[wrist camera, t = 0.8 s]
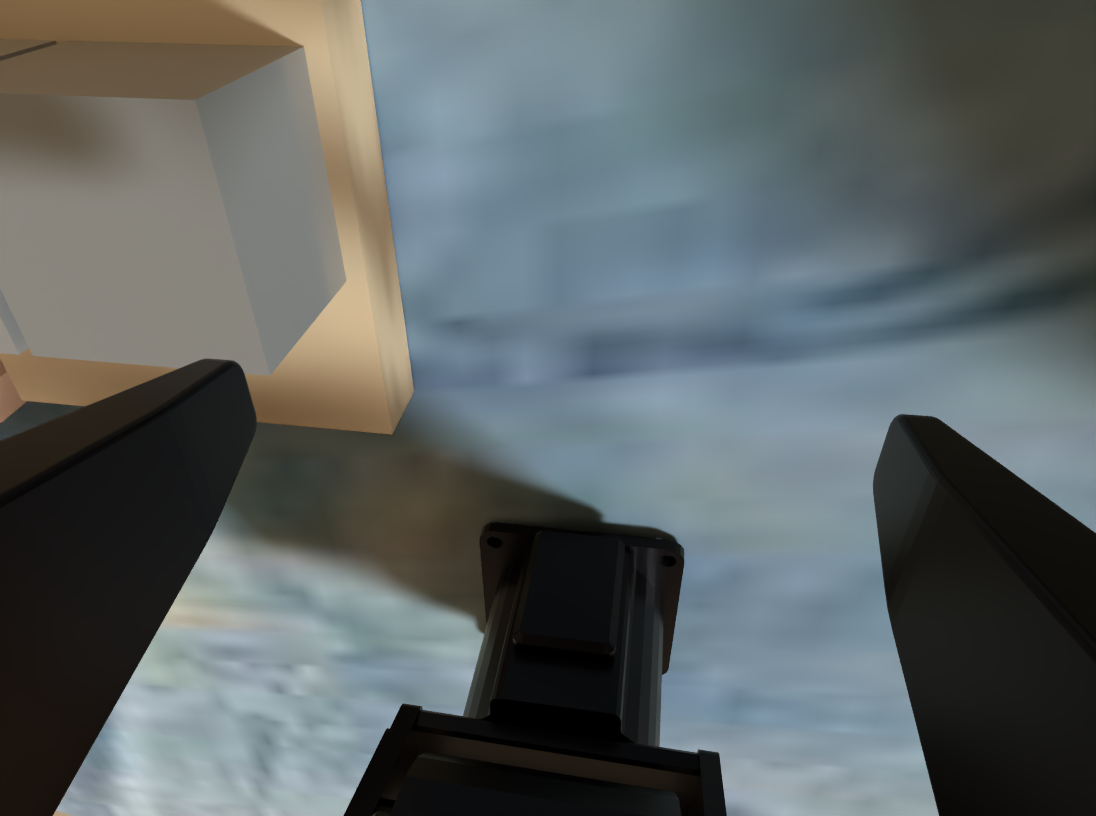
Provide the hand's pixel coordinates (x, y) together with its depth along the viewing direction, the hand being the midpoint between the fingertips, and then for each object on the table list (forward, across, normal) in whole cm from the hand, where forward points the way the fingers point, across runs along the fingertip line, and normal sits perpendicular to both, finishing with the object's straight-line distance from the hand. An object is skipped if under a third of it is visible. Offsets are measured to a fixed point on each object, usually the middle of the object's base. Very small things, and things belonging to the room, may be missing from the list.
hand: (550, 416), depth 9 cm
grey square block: (+8, +8, 0) cm, 12 cm away
